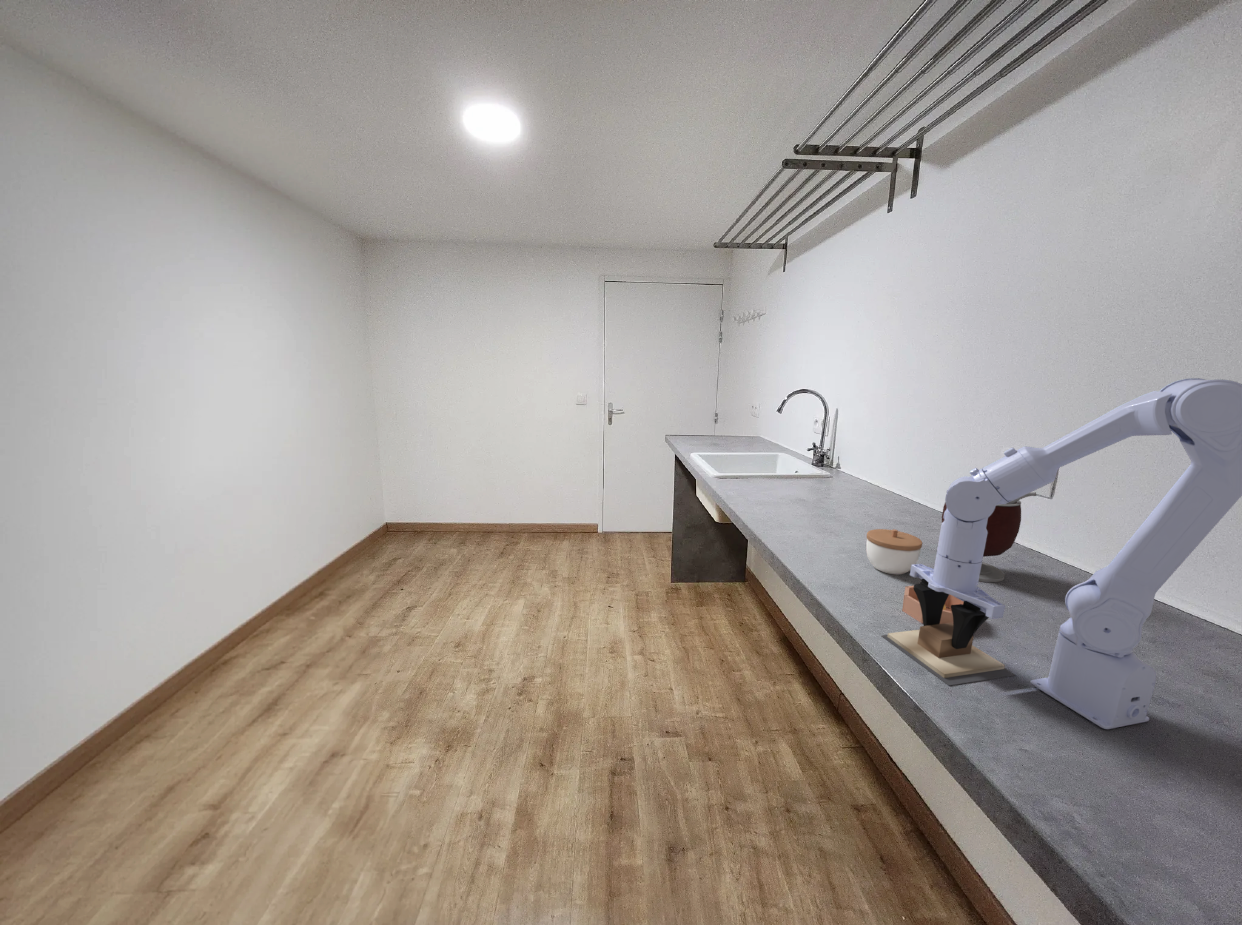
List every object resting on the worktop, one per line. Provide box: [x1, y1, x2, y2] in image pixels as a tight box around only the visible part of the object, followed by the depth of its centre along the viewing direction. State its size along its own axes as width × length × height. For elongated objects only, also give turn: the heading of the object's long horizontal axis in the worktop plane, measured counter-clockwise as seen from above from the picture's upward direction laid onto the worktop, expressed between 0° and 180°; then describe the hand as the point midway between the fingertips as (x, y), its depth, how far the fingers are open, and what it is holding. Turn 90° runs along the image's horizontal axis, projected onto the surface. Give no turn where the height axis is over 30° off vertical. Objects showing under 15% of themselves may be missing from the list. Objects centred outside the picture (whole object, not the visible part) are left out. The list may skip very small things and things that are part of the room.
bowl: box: [901, 585, 964, 624], centre depth 90 cm, size 10×10×4 cm
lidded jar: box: [865, 528, 923, 576], centre depth 109 cm, size 11×11×9 cm
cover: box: [886, 623, 1006, 678], centre depth 78 cm, size 11×11×4 cm
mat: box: [881, 634, 1017, 687], centre depth 77 cm, size 13×12×1 cm
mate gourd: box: [941, 491, 1037, 583], centre depth 109 cm, size 16×14×20 cm
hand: (944, 637), depth 77 cm, fingers open, 5 cm apart
